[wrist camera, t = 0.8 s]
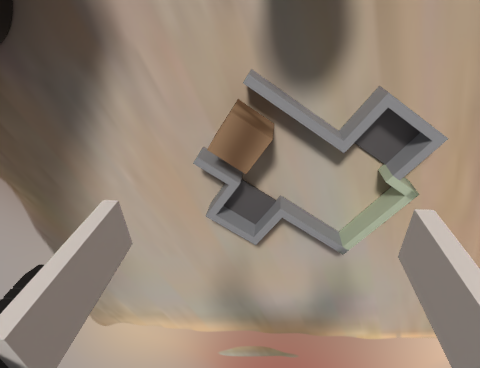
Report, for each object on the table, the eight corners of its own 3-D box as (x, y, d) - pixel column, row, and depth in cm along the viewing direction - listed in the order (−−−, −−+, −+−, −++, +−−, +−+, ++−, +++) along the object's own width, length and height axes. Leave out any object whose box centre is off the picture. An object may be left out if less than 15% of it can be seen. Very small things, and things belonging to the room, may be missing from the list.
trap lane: (179, 185, 39) (172, 197, 36) (285, 13, 27) (286, 13, 25) (311, 262, 43) (313, 278, 41) (453, 143, 31) (469, 154, 29)
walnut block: (216, 133, 35) (207, 149, 30) (238, 98, 32) (231, 111, 28) (250, 155, 35) (246, 174, 31) (274, 123, 33) (272, 139, 29)
